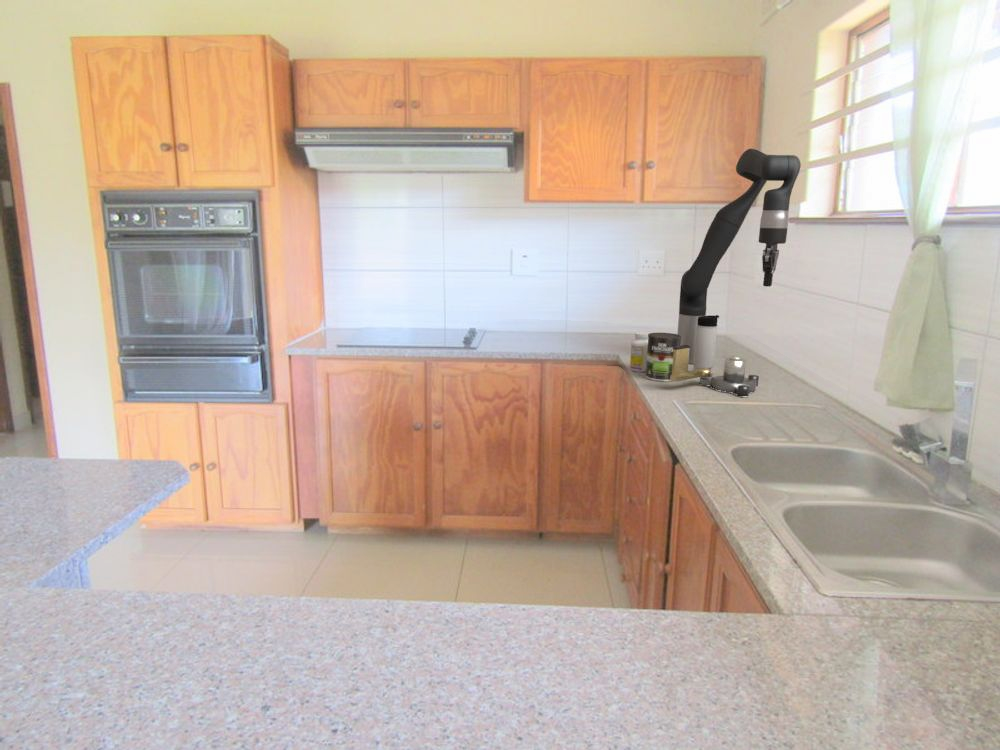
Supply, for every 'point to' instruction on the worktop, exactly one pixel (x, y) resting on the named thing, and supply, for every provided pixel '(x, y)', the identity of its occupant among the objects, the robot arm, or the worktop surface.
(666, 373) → the coffee can
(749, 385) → the levelling base
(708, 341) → the travel mug
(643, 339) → the supplement bottle
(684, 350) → the lever
